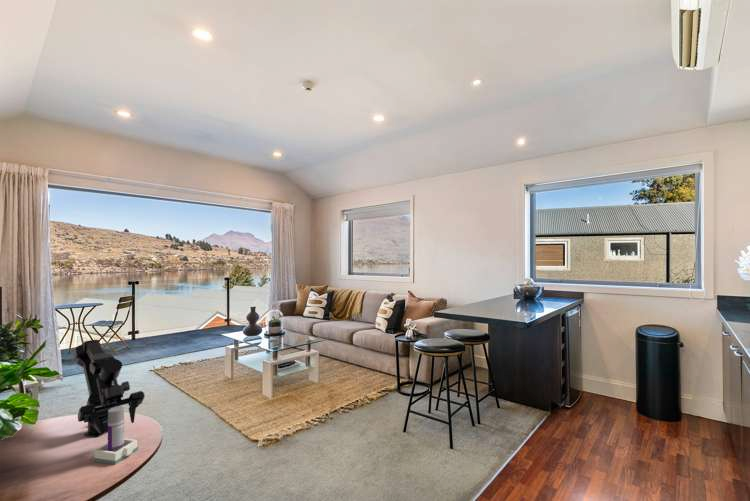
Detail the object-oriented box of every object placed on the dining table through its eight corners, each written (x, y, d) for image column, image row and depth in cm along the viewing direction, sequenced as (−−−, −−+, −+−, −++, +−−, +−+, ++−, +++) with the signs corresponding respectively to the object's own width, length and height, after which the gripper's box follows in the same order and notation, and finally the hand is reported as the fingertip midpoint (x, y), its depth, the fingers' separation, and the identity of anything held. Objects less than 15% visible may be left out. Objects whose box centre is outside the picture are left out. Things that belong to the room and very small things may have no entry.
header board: (93, 461, 121) (93, 450, 121) (117, 446, 130) (117, 437, 130) (117, 464, 119) (117, 454, 119) (140, 449, 128) (140, 440, 128)
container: (107, 451, 125) (106, 408, 125) (123, 446, 128) (123, 404, 128) (108, 457, 121) (108, 413, 121) (125, 452, 124) (125, 409, 124)
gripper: (79, 383, 120) (87, 426, 113) (142, 369, 134) (153, 406, 127) (74, 400, 125) (81, 442, 118) (136, 384, 139) (146, 422, 132)
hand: (117, 427), depth 123 cm, fingers open, 9 cm apart
